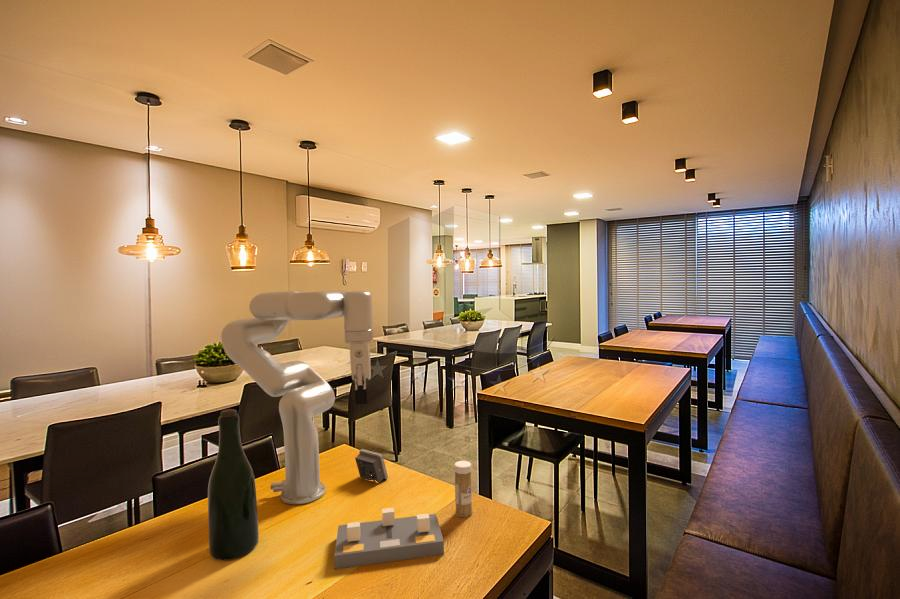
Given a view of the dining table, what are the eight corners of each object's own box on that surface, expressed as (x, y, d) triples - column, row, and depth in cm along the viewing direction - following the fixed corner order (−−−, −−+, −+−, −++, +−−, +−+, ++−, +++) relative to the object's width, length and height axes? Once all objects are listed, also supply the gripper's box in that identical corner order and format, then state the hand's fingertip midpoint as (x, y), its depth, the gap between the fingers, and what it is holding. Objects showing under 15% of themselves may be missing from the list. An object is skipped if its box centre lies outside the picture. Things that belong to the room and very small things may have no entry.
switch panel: (334, 569, 94) (334, 555, 94) (338, 537, 106) (338, 525, 106) (444, 554, 98) (443, 540, 98) (436, 525, 110) (436, 513, 110)
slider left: (347, 541, 98) (346, 527, 98) (348, 536, 100) (347, 523, 100) (360, 540, 98) (359, 526, 98) (360, 535, 100) (359, 521, 100)
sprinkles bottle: (470, 519, 112) (468, 468, 112) (453, 516, 114) (451, 466, 113) (474, 510, 117) (473, 460, 116) (458, 507, 118) (456, 459, 118)
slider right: (417, 532, 101) (417, 519, 101) (417, 527, 103) (416, 514, 103) (429, 531, 101) (429, 517, 101) (428, 526, 103) (428, 513, 103)
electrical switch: (388, 479, 136) (386, 451, 135) (377, 488, 132) (374, 459, 131) (367, 473, 142) (364, 446, 140) (355, 481, 137) (352, 453, 136)
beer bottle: (204, 566, 96) (196, 419, 95) (215, 539, 106) (209, 406, 105) (255, 557, 99) (248, 414, 98) (262, 532, 109) (256, 402, 108)
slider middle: (382, 526, 104) (382, 513, 104) (382, 521, 106) (382, 508, 106) (394, 524, 104) (394, 511, 104) (394, 520, 106) (393, 507, 106)
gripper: (372, 339, 111) (375, 410, 112) (372, 332, 126) (375, 395, 126) (342, 340, 110) (345, 412, 110) (346, 334, 124) (348, 397, 125)
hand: (361, 403), depth 118 cm, fingers closed
